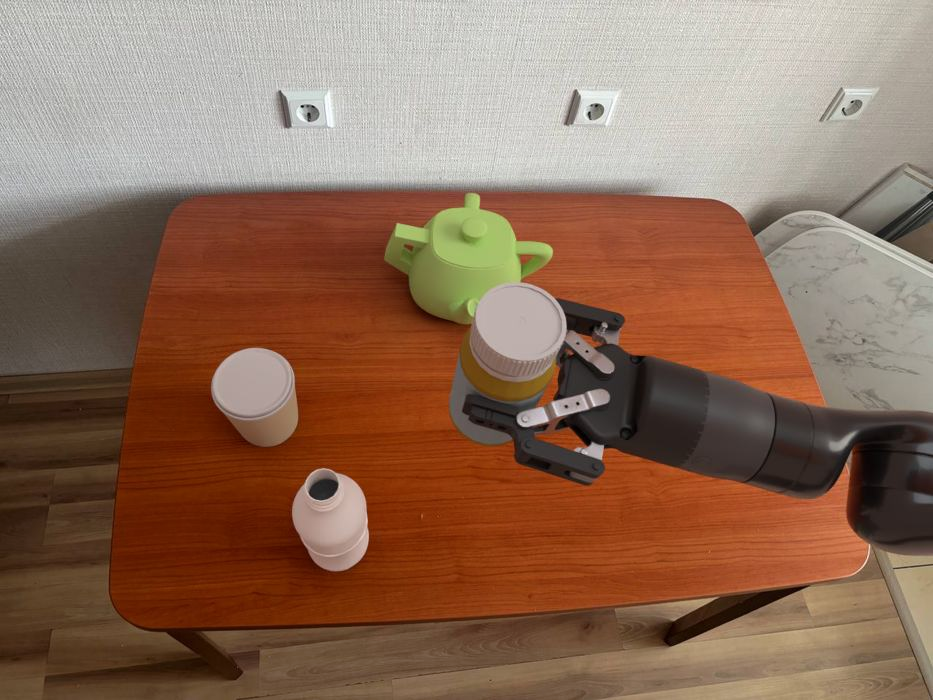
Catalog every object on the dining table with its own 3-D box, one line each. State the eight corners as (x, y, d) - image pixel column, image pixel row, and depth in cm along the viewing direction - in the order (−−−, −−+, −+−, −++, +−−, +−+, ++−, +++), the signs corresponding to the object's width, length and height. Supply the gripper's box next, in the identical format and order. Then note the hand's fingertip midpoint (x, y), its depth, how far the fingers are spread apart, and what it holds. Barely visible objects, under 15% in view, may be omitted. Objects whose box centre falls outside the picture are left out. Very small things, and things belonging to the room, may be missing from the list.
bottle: (492, 362, 54) (524, 260, 41) (543, 419, 52) (595, 330, 39) (431, 403, 51) (446, 308, 38) (483, 465, 49) (517, 387, 36)
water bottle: (324, 506, 74) (302, 434, 53) (378, 525, 74) (377, 461, 53) (299, 562, 71) (264, 509, 49) (355, 583, 71) (344, 539, 49)
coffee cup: (316, 401, 81) (307, 360, 71) (285, 463, 77) (270, 428, 66) (253, 379, 82) (234, 335, 71) (218, 439, 77) (193, 401, 67)
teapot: (466, 224, 100) (478, 159, 88) (548, 302, 94) (574, 245, 82) (377, 277, 93) (376, 214, 80) (461, 366, 87) (474, 314, 74)
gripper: (661, 525, 44) (446, 463, 44) (675, 362, 51) (490, 310, 51) (709, 497, 37) (456, 424, 38) (717, 315, 44) (505, 256, 45)
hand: (476, 358), depth 44 cm, fingers closed on bottle, 7 cm apart
